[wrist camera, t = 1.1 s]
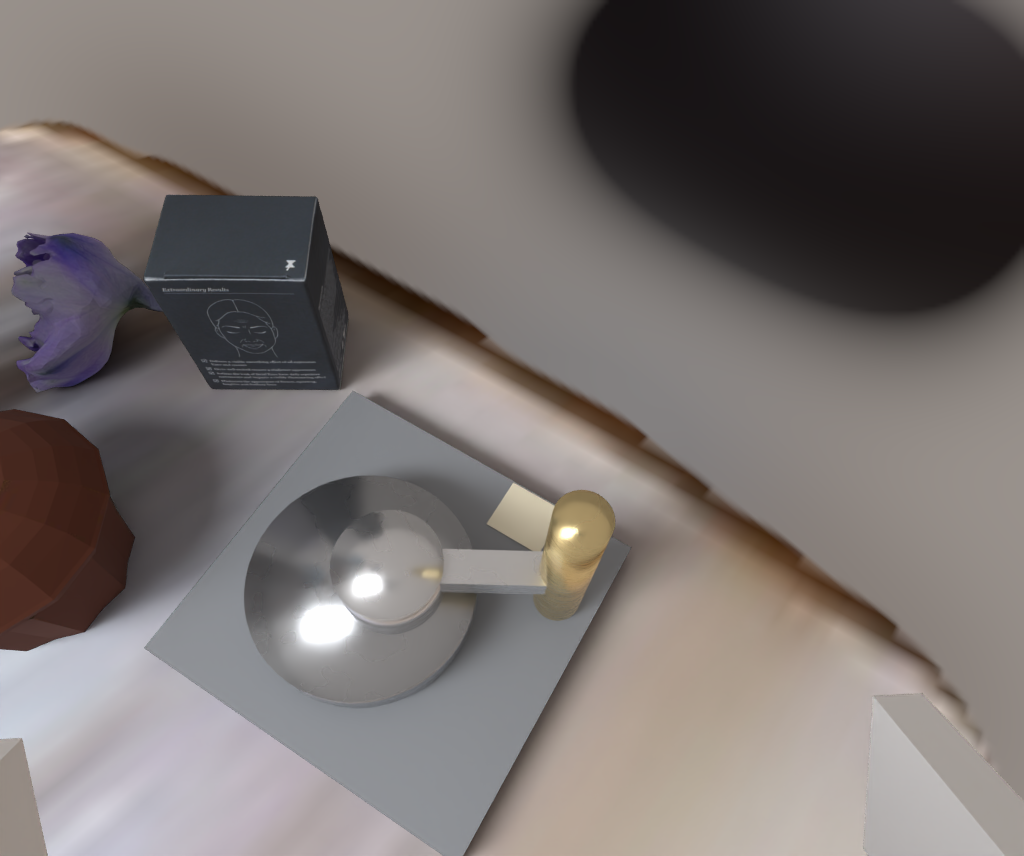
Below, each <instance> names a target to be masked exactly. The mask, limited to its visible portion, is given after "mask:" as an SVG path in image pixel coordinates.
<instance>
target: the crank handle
mask: <svg viewBox="0 0 1024 856" xmlns="http://www.w3.org/2000/svg"><path fill="white" fill-rule="evenodd" d="M614 528H615V516H614V512H613V510H612V508H611V506H610V504H609V503H608V502H607V501H606V500H605V499H604V498H603V497H602V496H600V495H599V494H596V493H594V492H591V491H587V490H577V491H572V492H569V493H567V494H565V495H564V496H563V497H561V498H560V499H559V500H558V502H557V503H556V505H555V506H554V509H553V512H552V516H551V520H550V525H549V529H548V533H547V537H546V541H545V545H544V549H543V551H509V550H473V549H472V546H471V543H470V540H469V538H468V536H467V534H466V532H465V529H464V528H463V526H462V525H461V523H460V522H459V520H458V519H457V517H456V516H455V515H454V514H453V512H452V511H451V510H450V509H449V508H448V507H447V506H446V505H445V504H444V503H443V502H442V501H440V500H439V499H438V498H437V497H435V496H434V495H433V494H431V493H430V492H428V491H427V490H425V489H423V488H421V487H419V486H417V485H415V484H412V483H409V482H406V481H404V480H401V479H396V478H391V477H386V476H375V475H367V476H354V477H347V478H342V479H339V480H335V481H331V482H328V483H326V484H323V485H321V486H318V487H316V488H314V489H312V490H311V491H309V492H307V493H305V494H303V495H302V496H300V497H299V498H298V499H296V500H295V501H293V502H292V503H291V504H289V505H288V506H287V507H286V508H285V509H284V510H283V511H282V512H280V513H279V515H278V516H277V517H276V518H275V519H274V520H273V521H272V522H271V524H270V525H269V526H268V528H267V529H266V531H265V532H264V533H263V535H262V536H261V538H260V540H259V542H258V544H257V546H256V548H255V549H254V552H253V555H252V557H251V560H250V562H249V566H248V570H247V574H246V578H245V587H244V609H245V615H246V621H247V625H248V628H249V631H250V634H251V637H252V639H253V641H254V643H255V645H256V647H257V649H258V651H259V653H260V654H261V656H262V657H263V658H264V660H265V661H266V663H267V664H268V665H269V666H270V667H271V668H272V669H273V670H274V671H275V672H276V673H277V674H278V675H279V676H280V677H281V678H283V679H284V680H285V681H287V682H288V683H289V684H290V685H292V686H293V687H294V688H296V689H297V690H298V691H300V692H302V693H303V694H305V695H307V696H309V697H310V698H313V699H315V700H318V701H320V702H323V703H325V704H330V705H334V706H338V707H346V708H371V707H377V706H382V705H387V704H390V703H393V702H396V701H399V700H402V699H404V698H406V697H408V696H410V695H412V694H415V693H416V692H418V691H419V690H421V689H423V688H424V687H426V686H427V685H429V684H430V683H431V682H432V681H434V680H435V679H436V678H437V677H438V676H439V675H441V674H442V672H443V671H444V670H445V669H446V668H447V667H448V666H449V665H450V664H451V663H452V661H453V660H454V658H455V657H456V656H457V654H458V653H459V651H460V650H461V648H462V646H463V644H464V642H465V640H466V638H467V636H468V634H469V631H470V628H471V626H472V623H473V619H474V615H475V610H476V602H477V593H502V594H533V601H534V605H535V607H536V609H537V610H538V612H539V613H540V614H541V615H542V616H544V617H546V618H547V619H550V620H555V621H560V620H565V619H567V618H569V617H571V616H572V615H573V614H574V613H575V612H576V611H577V609H578V607H579V605H580V603H581V601H582V598H583V596H584V594H585V592H586V590H587V588H588V586H589V583H590V581H591V579H592V577H593V575H594V573H595V570H596V568H597V566H598V564H599V562H600V560H601V557H602V555H603V553H604V551H605V549H606V547H607V544H608V542H609V540H610V538H611V536H612V534H613V531H614Z"/></svg>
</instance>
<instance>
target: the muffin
mask: <svg viewBox="0 0 1024 856" xmlns="http://www.w3.org/2000/svg"><path fill="white" fill-rule="evenodd" d="M134 539H135V537H134V535H133V534H132V532H131V531H130V529H129V528H128V526H127V525H126V523H125V522H124V520H123V519H122V517H121V516H120V515H119V513H118V512H117V510H116V507H115V505H114V503H113V501H112V499H111V497H110V492H109V489H108V485H107V481H106V477H105V473H104V469H103V465H102V461H101V457H100V453H99V449H97V448H96V447H95V446H94V445H93V444H92V443H91V442H89V441H88V440H87V439H86V438H85V437H84V436H83V435H81V434H80V433H79V432H78V431H77V430H76V429H75V428H74V427H72V426H71V425H70V424H69V423H68V422H67V421H66V420H64V419H59V418H54V417H50V416H45V415H40V414H35V413H30V412H26V411H21V410H16V409H12V410H7V411H1V412H0V649H5V650H18V651H29V650H31V649H33V648H36V647H38V646H40V645H43V644H45V643H48V642H50V641H52V640H55V639H58V638H62V637H66V636H71V635H75V634H79V633H83V632H85V631H86V630H87V628H88V627H89V626H90V624H91V623H92V622H93V621H94V619H95V618H96V617H97V616H98V614H99V613H100V612H101V611H102V609H103V608H104V607H105V606H106V605H107V604H108V603H110V602H111V601H112V600H113V599H114V598H115V597H116V596H117V595H118V594H119V593H120V592H121V591H122V590H124V589H125V586H126V575H127V564H128V559H129V556H130V552H131V549H132V546H133V542H134Z"/></svg>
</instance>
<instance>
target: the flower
mask: <svg viewBox="0 0 1024 856" xmlns="http://www.w3.org/2000/svg"><path fill="white" fill-rule="evenodd" d="M28 234H29V235H31V236H28V235H26V236H25V237H26V238H27V239H24V240H20V241H18V242H17V247H18V252H17V254H16V255H15V256H16V257H17V258H18V259H20V260H21V261H23V262H24V263H25V264H26V267H24V268H22V269H20V270H18V271H16V272H14V275H16V276H15V277H13V281H14V285H13V287H12V294H13V295H14V296H15V297H17V298H19V299H20V300H22V301H25V305H26V306H27V307H29V308H31V309H32V313H33V314H34V315H35V314H39V315H40V320H39V321H38V322H37V323H36V324H35V326H34V330H33V332H29V333H30V335H31V336H32V338H30V337H23V336H20V337H19V338H18V339H19V340H20V342H22V343H23V344H24V345H25V346H26V347H27V348H28V349H30V350H32V351H37V352H36V353H35V354H34V356H33V357H32V358H29V359H25V360H17V362H16V364H17V367H18V368H19V369H20V370H22V371H23V372H25V374H26V376H27V380H28V381H29V383H30V385H31V386H32V387H33V388H34V389H35V390H36V393H37V392H40V391H44V390H47V389H50V388H53V387H70V386H74V385H77V384H79V383H80V382H82V381H84V380H86V379H87V378H89V377H91V376H92V375H94V374H95V373H97V372H98V371H99V370H100V369H101V368H102V367H103V366H104V365H105V363H106V362H107V361H108V359H109V356H110V353H111V351H112V344H113V338H114V333H115V329H116V326H117V324H118V322H119V320H120V318H121V317H122V316H123V315H124V314H125V313H126V312H127V311H128V310H131V309H133V308H147V309H150V310H154V311H160V312H163V311H162V309H161V307H160V306H159V304H158V303H157V301H156V300H155V298H154V296H153V295H152V293H151V291H150V290H149V288H148V287H147V286H146V285H145V284H144V282H143V281H142V280H141V279H140V278H139V277H137V276H136V275H135V274H134V273H133V272H131V271H130V270H129V269H128V268H126V267H125V266H123V265H122V264H120V263H119V262H118V261H117V260H116V259H115V258H114V256H113V255H112V253H111V252H110V250H109V249H108V248H107V247H106V246H105V245H104V244H103V243H102V242H101V241H99V240H97V239H95V238H92V237H88V236H83V235H79V234H74V233H70V234H59V235H54V236H44V235H38V234H32V233H28ZM28 238H33V239H28Z"/></svg>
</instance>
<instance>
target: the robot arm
mask: <svg viewBox="0 0 1024 856" xmlns="http://www.w3.org/2000/svg"><path fill="white" fill-rule="evenodd" d="M863 848H864V850H865V852H866V853H867V855H868V856H1024V800H1022V798H1021V797H1020V796H1019V795H1018V794H1017V793H1016V792H1015V791H1014V790H1013V789H1012V788H1011V787H1010V786H1009V785H1008V784H1007V782H1006V781H1005V780H1004V779H1003V778H1002V777H1001V776H1000V775H999V774H998V773H997V772H996V771H995V770H994V769H993V768H992V767H991V765H990V764H989V763H988V762H987V761H986V760H985V759H984V758H983V757H982V756H981V755H980V754H979V753H978V752H977V751H976V750H975V748H974V747H973V746H972V745H971V744H970V743H969V742H968V741H967V740H966V739H965V738H964V737H963V736H962V735H961V734H960V733H959V732H958V730H957V729H956V728H955V727H954V726H953V725H952V724H951V723H950V722H949V721H948V720H947V719H946V718H945V717H944V716H943V715H942V713H941V712H940V711H939V710H938V709H937V708H936V707H935V706H934V705H933V704H932V703H931V702H930V701H929V700H928V699H927V698H926V697H925V695H924V694H923V693H920V694H900V695H880V696H873V703H872V718H871V733H870V748H869V763H868V779H867V794H866V809H865V824H864V839H863ZM0 856H48V855H47V850H46V845H45V841H44V836H43V832H42V827H41V823H40V818H39V813H38V809H37V804H36V800H35V795H34V790H33V786H32V781H31V777H30V772H29V768H28V763H27V758H26V754H25V749H24V745H23V740H22V738H15V739H0Z"/></svg>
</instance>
